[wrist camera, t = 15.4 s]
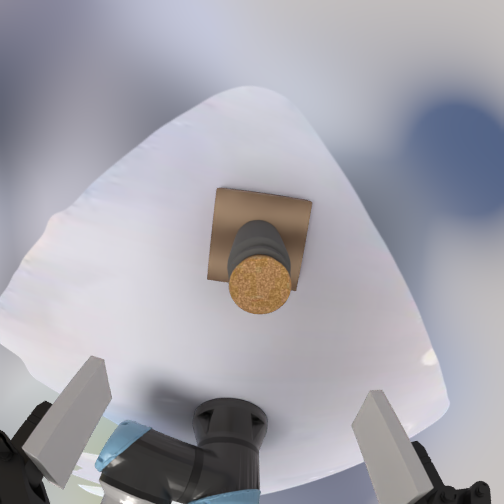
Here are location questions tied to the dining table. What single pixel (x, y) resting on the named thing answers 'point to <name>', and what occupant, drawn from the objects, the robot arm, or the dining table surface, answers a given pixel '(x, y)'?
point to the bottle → (259, 268)
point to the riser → (257, 208)
